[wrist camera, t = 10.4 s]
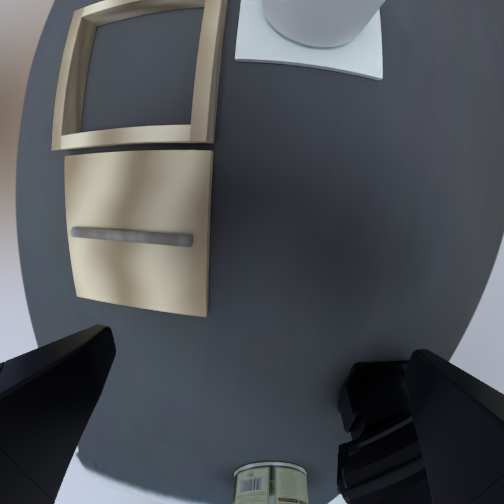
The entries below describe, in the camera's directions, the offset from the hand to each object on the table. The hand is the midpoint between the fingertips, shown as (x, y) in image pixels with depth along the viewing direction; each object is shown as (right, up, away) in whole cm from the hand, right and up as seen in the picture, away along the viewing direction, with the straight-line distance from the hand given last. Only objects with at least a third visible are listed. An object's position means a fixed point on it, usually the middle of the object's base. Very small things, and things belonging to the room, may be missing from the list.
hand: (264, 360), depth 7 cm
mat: (+4, +20, +7) cm, 22 cm away
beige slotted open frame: (-9, +10, +11) cm, 17 cm away
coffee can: (+2, -28, +23) cm, 37 cm away
